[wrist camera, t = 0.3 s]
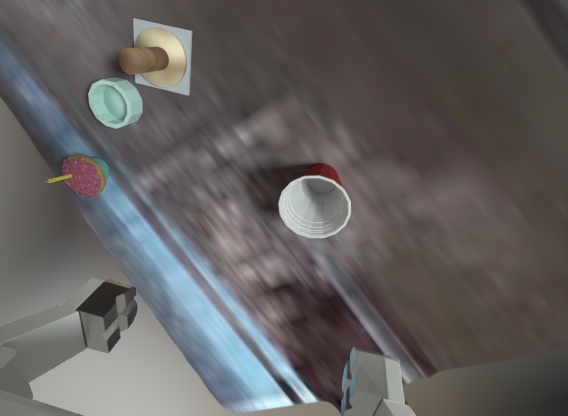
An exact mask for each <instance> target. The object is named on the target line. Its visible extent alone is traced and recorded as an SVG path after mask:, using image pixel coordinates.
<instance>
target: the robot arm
mask: <svg viewBox="0 0 568 416" xmlns="http://www.w3.org/2000/svg"><path fill="white" fill-rule="evenodd" d="M135 295H136V288H135V287H133V286H129V285H126V284H123V283H120V282H116V281H113V280H110V279H106V278H102V277H99V276H95V277H92V278H91V279H90V280H89V281H87V282H86V283H85V284H84V285H83V286H82V287H81V288H80V289H79V290H78V291H77V292H76V293H74V294H73V295H72V296H71V297H70V298H69V299H68V300H67V301H66V302H65V303H64V304H63V305H62V306H58V305H56V306H54V307H51V308H49V309H46V310H43V311H41V312H38V313H35V314H33V315H30V316H27V317H25V318H22V319H20V320H17V321H14V322H12V323H9V324H6V325H4V326H1V327H0V416H83V415H80V414H77V413H73V412H70V411H67V410H64V409H61V408H58V407H55V406H51V405H48V404H45V403H42V402H39V401H36V400H32V399H33V394H32V391H31V388H30V385H29V382H31V381H32V380H34V379H36V378H37V377H39V376H41V375H43V374H44V373H46V372H47V371H49V370H51V369H53V368H54V367H56V366H58V365H59V364H61V363H63V362H65V361H66V360H68V359H69V358H71V357H73V356H75V355H76V354H78V353H80V352H81V351H83V350H85V349H86V347H87V348H90V349H94V350H98V351H102V352H106V353H109V352H110V351H111V350H112V348H113V347H114V346H115V344H116V343H117V342H118V340H119V339H120V332H121V331H123V330H125V329H127V328H129V326H130V325H131V323H132V322H133V320H134V318H135V316H136V313H137V302H136V301H135V300H134V297H135ZM342 390H343V392H344V394H345V395H344V397H343V400H342V402H341V416H416V415H415V414H414V412H413V411H412V409H411V408H410V406H408V405H405V402H404V394H403V387H402V379H401V371H400V364H399V360H398V358H394V357H391V356H387V355H382V354H381V353H377V352H373V351H369V350H365V349H361V348H357V347H354V348H353V349H352V351H351V356H350V360H349V361H347V364H346V366H345V370H344V374H343V382H342Z"/></svg>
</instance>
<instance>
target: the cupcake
mask: <svg viewBox="0 0 568 416" xmlns="http://www.w3.org/2000/svg"><path fill="white" fill-rule="evenodd" d="M62 163H63V164H62V167H61V168H62V169H61V170H62V171H61V172H62V176H60V177H56V178H52V179H49V180H47V181H44V182H48V183H52V182H55V181H59V180H64V182H65V183H66V184H67V186H68V187H69V188H70V189H72V191H73V192H75V193H77V194H79V195H81V196H88V197H90V196H95V195H98V194H100V193H101V192H102V190H103V188H104V186H105V185H106V178H107V177H108V176H109V168H108V166H107V164H106V163H105V162H104V161H103V160H102V159H100V158H97V157H91V158H89V157H87V156H85V155H81V154H78V155H73V156H70V157H68V158H66V160H64V162H62Z"/></svg>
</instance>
